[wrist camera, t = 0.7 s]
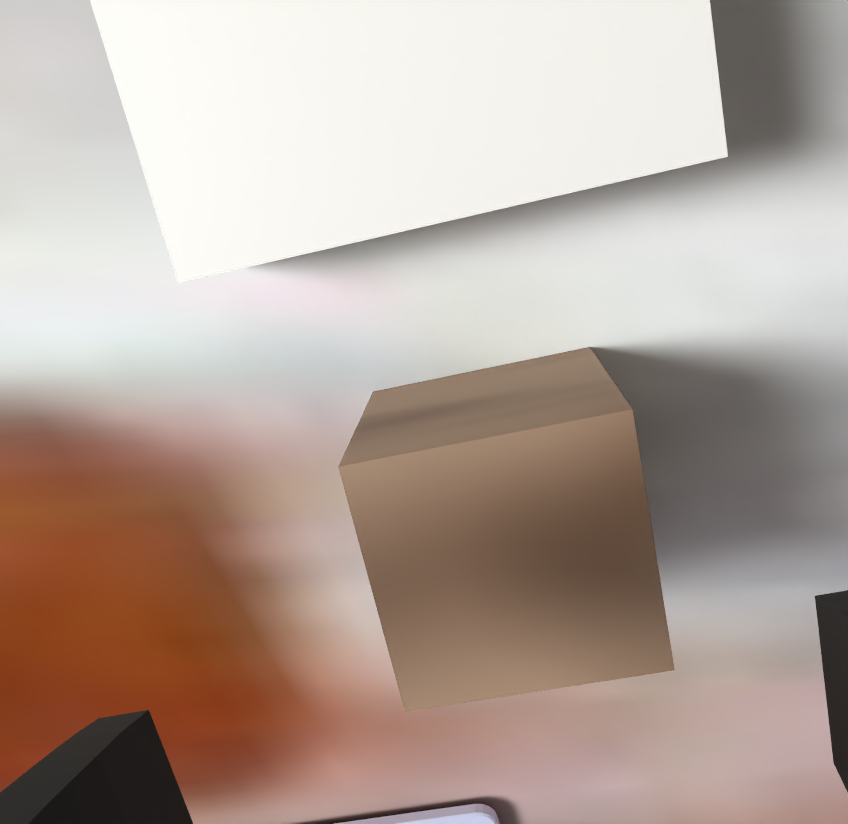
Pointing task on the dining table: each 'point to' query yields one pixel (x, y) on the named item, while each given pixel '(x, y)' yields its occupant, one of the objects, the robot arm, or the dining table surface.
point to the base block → (397, 111)
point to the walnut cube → (507, 531)
